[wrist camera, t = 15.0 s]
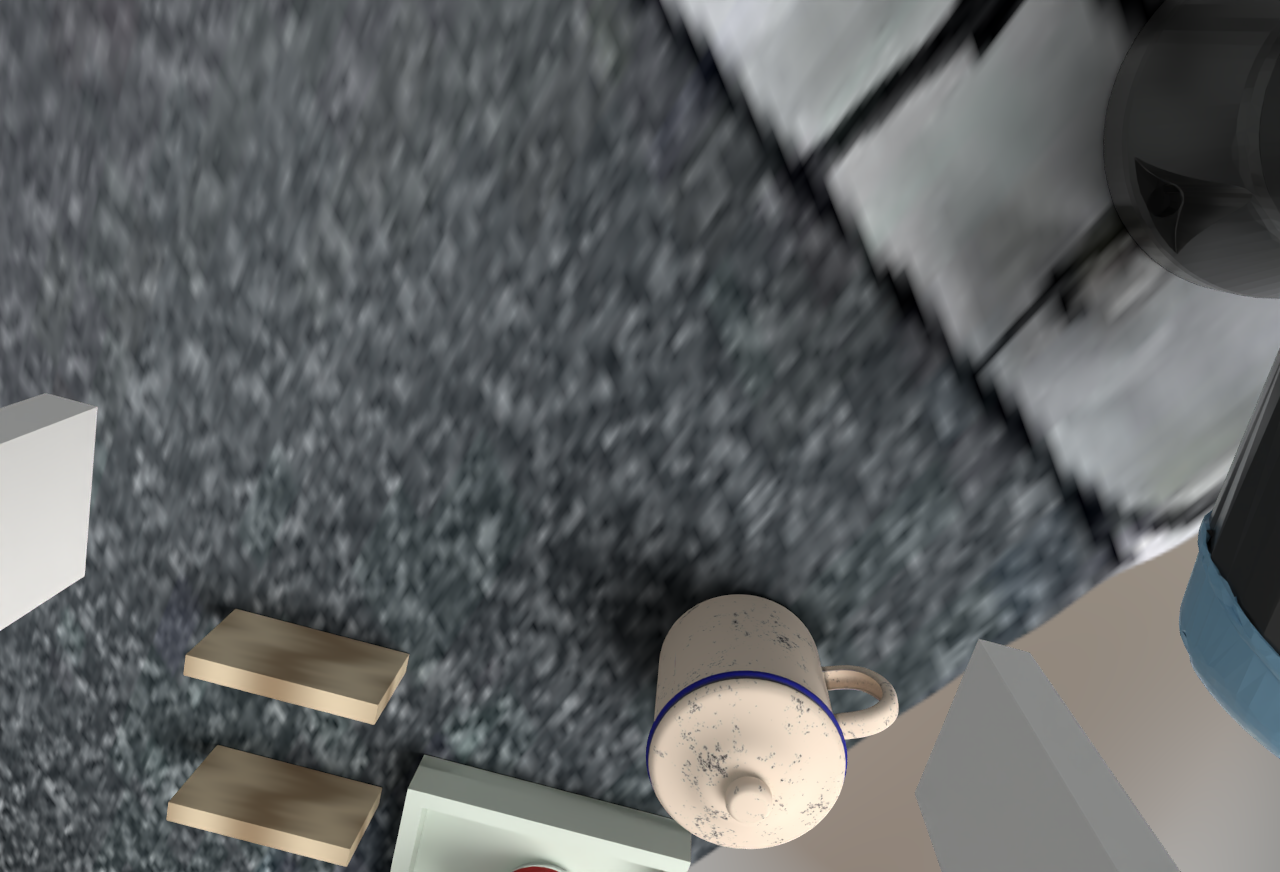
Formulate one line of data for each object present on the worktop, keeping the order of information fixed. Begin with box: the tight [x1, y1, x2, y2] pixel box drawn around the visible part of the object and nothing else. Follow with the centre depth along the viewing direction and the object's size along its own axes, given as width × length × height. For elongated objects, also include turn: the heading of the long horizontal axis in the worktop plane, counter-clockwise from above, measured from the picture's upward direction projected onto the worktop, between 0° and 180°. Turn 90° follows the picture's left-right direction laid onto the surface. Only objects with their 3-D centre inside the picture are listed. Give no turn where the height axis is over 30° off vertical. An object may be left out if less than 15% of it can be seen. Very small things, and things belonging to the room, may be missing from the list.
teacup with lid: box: [646, 594, 898, 849], centre depth 43 cm, size 12×9×12 cm
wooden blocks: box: [167, 609, 409, 867], centre depth 49 cm, size 10×10×5 cm
